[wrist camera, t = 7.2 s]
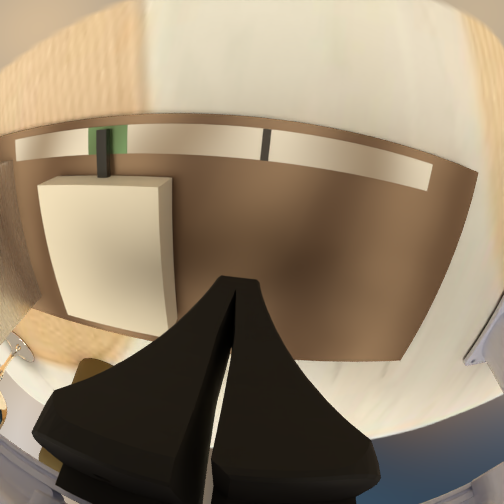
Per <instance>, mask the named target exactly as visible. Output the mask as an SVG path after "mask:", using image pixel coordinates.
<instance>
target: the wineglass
mask: <svg viewBox="0 0 504 504" xmlns="http://www.w3.org/2000/svg"><path fill="white" fill-rule="evenodd" d="M6 340H7V342H8V343H9V345H10V346H11V353H10V355H9V357H8V358H7V360H6V361H5V363H4V364H3V365H2V366H1V367H0V381H1V379H2V378H3V375H4V371H5V369H6V368H7V366H8V364H9V363H10V362H11V360H12V359H13V358H14V357H15V356H17V355H19V356H20V357H22V358H23V359H24V360H26V361H28V362H33V361H34V356H33V354H32V352H31V350H30V349H29V347H28V346H27V345H26V344H25V342H24V341H23V340H22V339H21V338H20V337H19V336H18V335H16V334H15V333H14V332H12V331H11V333H10V334H9V335H8V336H7V338H6ZM6 415H7V406H6V402H5V399H4V397H3V396H2V393H1V391H0V429H1V427H2V426H3V424H4V422H5V419H6Z"/></svg>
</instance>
